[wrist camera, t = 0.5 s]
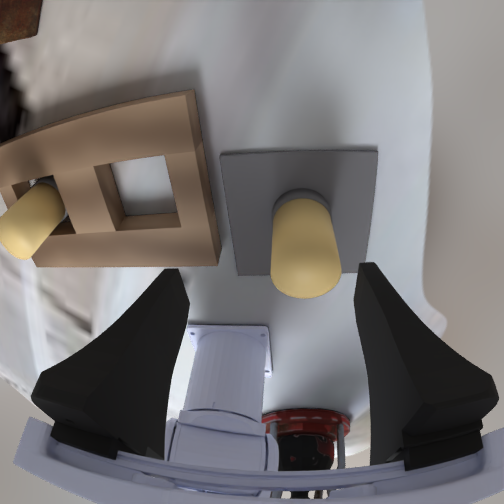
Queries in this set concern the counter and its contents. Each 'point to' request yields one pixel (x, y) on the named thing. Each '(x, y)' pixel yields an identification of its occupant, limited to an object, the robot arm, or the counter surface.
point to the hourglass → (307, 442)
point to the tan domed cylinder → (32, 218)
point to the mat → (292, 177)
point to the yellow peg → (303, 245)
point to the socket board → (105, 191)
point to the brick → (18, 19)
